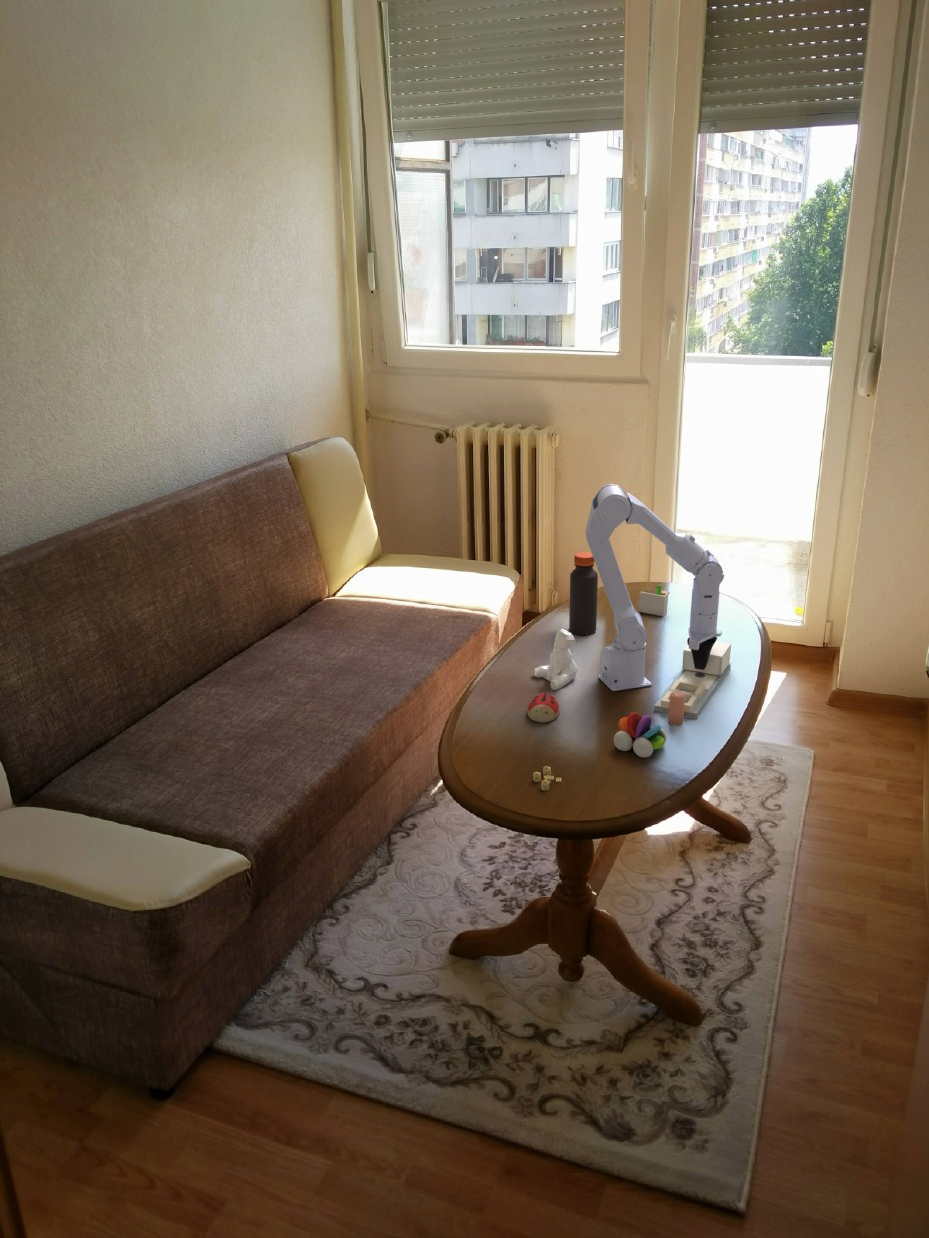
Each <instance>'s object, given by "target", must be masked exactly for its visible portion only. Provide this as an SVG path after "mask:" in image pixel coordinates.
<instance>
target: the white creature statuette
mask: <svg viewBox="0 0 929 1238" xmlns="http://www.w3.org/2000/svg"><path fill="white" fill-rule="evenodd" d="M554 638H555V639H554V644H553V645H552V647H553V649H552V652H551V653H550V654H549V656H550V663H549V665H548V664H547V665H539V666H538V667H535V668H534V669H533V670H534V672H533V673H534V677H535V678H538V679H539V678H543V679H545V680H547V681H548V682H550V688H551V690H554V691H557V690H561V689H562V688H563V687H564V686H566V685H568V684H569V683H571V681H573V680H574V679H575V678H576V675H577V674H578V670H579V668H578V667H577V664H576V661H575V660H574V658H573V654H572V652H571V650H570V648H572V646H573V645H575V644H576V638H575V636H574V635H573V633H571V632H569V630H566V629H564V628H561V629H559V630H558V631H557V632H556V635H555V637H554Z"/></svg>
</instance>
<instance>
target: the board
mask: <svg viewBox="0 0 929 1238" xmlns="http://www.w3.org/2000/svg"><path fill="white" fill-rule="evenodd" d="M731 664H732V663H729V664H728V665H727V667H726V668H725V670H724V671H723V673H722V674H721V676H719V675H714V674H708V673H702V672H697V671H691V670H686V669H681V670H680V672H679V673H677V675H676V676H675V678H674V679H673V680H672V682H671V683H669V686H668V687H667V688H666V689H665V691H664V692H663V693H662V694H661V696H660V697H659V699H658V700H657V701H656V702H655V704H654V705H653V711H655V712H659V713H664V714H669V702H670V694H671V693H673V692H680V693H683V694H685V705H684V718H691V719H693V720H694V719H695V720H697V719H698V717H699V716H700V715H701V713H702V712H703V710H704V708H705V707H706V706H707V704H708V702H709V701H710V699H711V698H712V696H713V695H714V693H715V692H716V690H717V689H718V688H719V686H720V685H721V683H722V681H724V679H725V677H726V675H727V674H728V672H729V671H730V669H731V667H732V665H731Z"/></svg>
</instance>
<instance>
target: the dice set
mask: <svg viewBox="0 0 929 1238" xmlns="http://www.w3.org/2000/svg"><path fill="white" fill-rule="evenodd" d="M542 774H543V780H542ZM532 780H533V782H534V783H540V789H541V790H542V791H548V790H550V784H551V783H552V781H554V780H555V783H562V777H554V775H552V769H551V767H550V766H547V765H546V766H543V767H542V773H541V772H539V771H535V772H533V773H532Z"/></svg>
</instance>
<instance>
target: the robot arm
mask: <svg viewBox="0 0 929 1238" xmlns="http://www.w3.org/2000/svg"><path fill="white" fill-rule="evenodd" d="M626 493H627V496H626ZM624 522H625V523H626V525H635V524H636V525H637V524H638V525H640V526H641V527H642V528H644V529H645V530H646V531H647V532H649V533H650V534H651V535H653V536H654V537H655V538H656V539H657V540H659V541H660V542H661V543H662V544H664V545H665V554H666V555H667V556H669V557H670V558H671V559H672V560H673V561H674V562H676V563H677V565H679V566H680V567H681V568H682V569H683V570H685V571H686V572H687V573H690V574H692V575H693V576H694V577H693V583H692V584H693V585H692V590H691V604H690V616H689V617H690V618H689V626H688V636H689V637H688V638H687V639H686V643H687V645H689V649H691V652H692V656H693V661H694V667H695V669H700V670H704V669H705V668H706V665H707V662H708V659H709V655H710V652H711V649H712V647H713V645H714V643H715V642H716V641H717V640H718V638H719V637H721V636H722V635H723V631H722V630H719V629H718V628H717V627H718V615H719V607H720V606H719V603H720V587H721V586H720V585H721V584H722V582H723V580H724V579H725V574H724V570H723V567H722V565H721V563H719V561H718V559H717V558H716V557H715V556H714V554H712V552H711V551H710V550H709V549H706V550H705V549H704V548H703V547H702V546H700V545H699V544H698V543H697V542H696V538H695V537H694V535H692V534H688V535H687V533H685V532H675V531H674V530H673V529H671V528H670V527H669V526H668V525H667V524H666V523H665V522H664V521H663V520H661V518H660V517H659V516H657V515H656V514H655V513H654V512H653V511H652V510H650V508H649V507H647V505H645V504H644V503H643V502H642V501H641V500H639V499H638V498H637V497H636V496H634V495H633V494H631V493H629V492H628V491H627V492H625V490H624V489H623V487H622V486H620V485H617V484H615V483H608V484H605V485H603V486H602V487H601V488H599V489H598V491H597V493H596V494H595V495H594V497H593V499H592V501H591V506H590V511H589V515H588V519H587V522H586V526H585V530H584V532H585V537H586V542H587V544H588V547H589V549H590V553H592V555H593V558H594V565H595V566H596V570H597V573H598V574H599V578H600V579H601V580H600V581H601V583H602V585H603V588H604V591H605V594H606V597H607V599H608V602H609V605H610V607H611V610H612V614H613V616H614V618H613V627H614V629H615V632H616V635H615V637H614V638H613V640H612V643H611V644H609V645H607V646H604V647H602V648H601V651H600V657H599V658H600V661H599V675H598V677H597V678H599V679H600V680H601V681H602V682H603V683H604V685H605V686H607V688H608V689H610V691H612V692H616V691H622V690H623V691H624V690H630V689H637V688H644V687H650V686H652V682H651V681H650V680H648V679H647V677H646V675H645V674H646V672H645V671H646V670H645V669H646V657H647V656H646V653H647V652H646V651H647V639H648V632H647V630H646V628H645V625H644V623H643V618H642V616H641V614H640V613H639V611H637V610H636V609H635V608H634V605H633V602H632V600H631V596H630V593H629V591H628V589H627V585H626V583H625V580H624V577H623V575H622V572H621V568H620V566H619V563H618V560H617V557H616V554H615V551H614V548H613V545H612V544H611V540H610V538H611V536H612V534H613V532H614V531H615V530H616V528H617V527H619V526H620V525H621V524H623V523H624Z"/></svg>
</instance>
